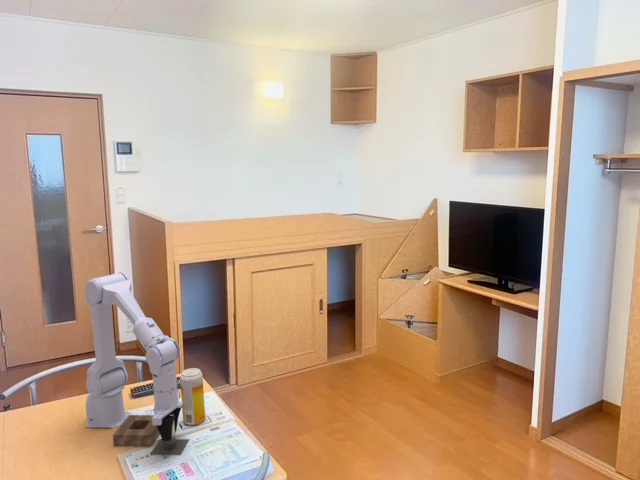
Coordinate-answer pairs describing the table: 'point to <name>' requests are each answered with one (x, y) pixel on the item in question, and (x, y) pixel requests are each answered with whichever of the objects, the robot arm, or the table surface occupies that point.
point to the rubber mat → (176, 451)
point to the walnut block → (136, 432)
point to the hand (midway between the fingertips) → (169, 436)
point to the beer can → (192, 396)
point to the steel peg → (171, 444)
